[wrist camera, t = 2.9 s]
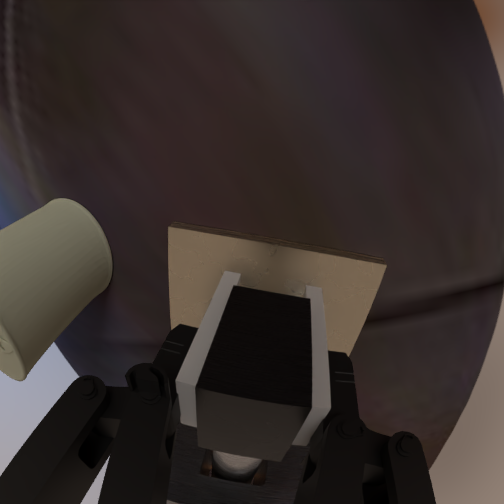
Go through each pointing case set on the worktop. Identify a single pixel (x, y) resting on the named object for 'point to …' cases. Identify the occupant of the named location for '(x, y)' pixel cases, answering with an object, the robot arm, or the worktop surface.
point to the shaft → (255, 382)
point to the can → (47, 279)
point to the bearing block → (267, 279)
